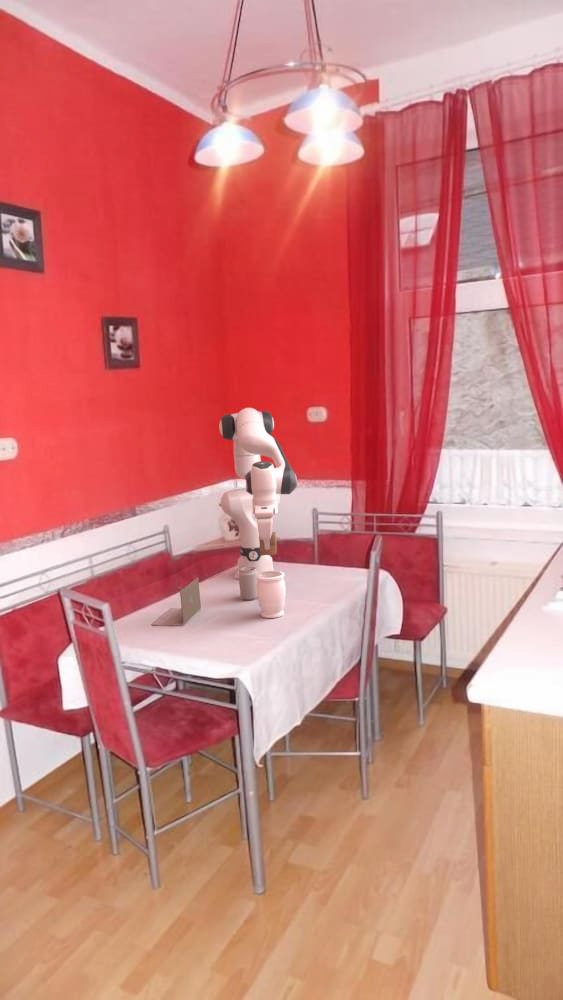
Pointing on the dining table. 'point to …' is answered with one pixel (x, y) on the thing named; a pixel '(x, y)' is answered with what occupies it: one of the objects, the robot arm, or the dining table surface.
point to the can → (248, 583)
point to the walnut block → (272, 546)
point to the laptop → (183, 607)
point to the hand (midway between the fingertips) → (268, 546)
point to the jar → (271, 593)
